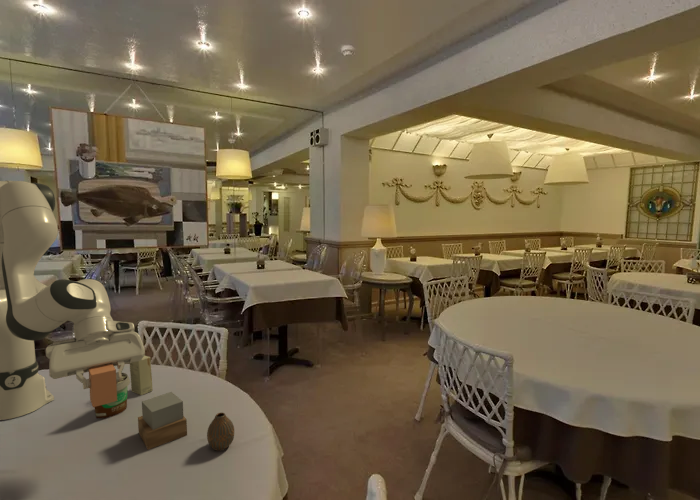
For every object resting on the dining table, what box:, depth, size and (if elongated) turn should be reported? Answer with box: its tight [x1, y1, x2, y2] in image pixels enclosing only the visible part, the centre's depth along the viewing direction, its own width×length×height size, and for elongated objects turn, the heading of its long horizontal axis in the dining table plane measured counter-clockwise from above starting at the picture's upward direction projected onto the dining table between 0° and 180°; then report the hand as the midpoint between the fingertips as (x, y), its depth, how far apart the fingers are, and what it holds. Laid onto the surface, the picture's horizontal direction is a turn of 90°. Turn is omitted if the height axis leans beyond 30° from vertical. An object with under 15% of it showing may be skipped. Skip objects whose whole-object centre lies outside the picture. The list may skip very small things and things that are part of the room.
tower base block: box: [137, 415, 188, 450], centre depth 106 cm, size 10×10×5 cm
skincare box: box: [129, 354, 153, 396], centre depth 131 cm, size 6×4×12 cm
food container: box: [93, 371, 131, 419], centre depth 118 cm, size 12×6×10 cm, turn 168°
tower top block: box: [141, 391, 184, 430], centre depth 106 cm, size 8×8×5 cm
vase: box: [206, 412, 235, 451], centre depth 101 cm, size 7×7×9 cm
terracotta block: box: [88, 364, 117, 408], centre depth 94 cm, size 5×5×8 cm
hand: (103, 383), depth 93 cm, fingers closed on terracotta block, 5 cm apart
